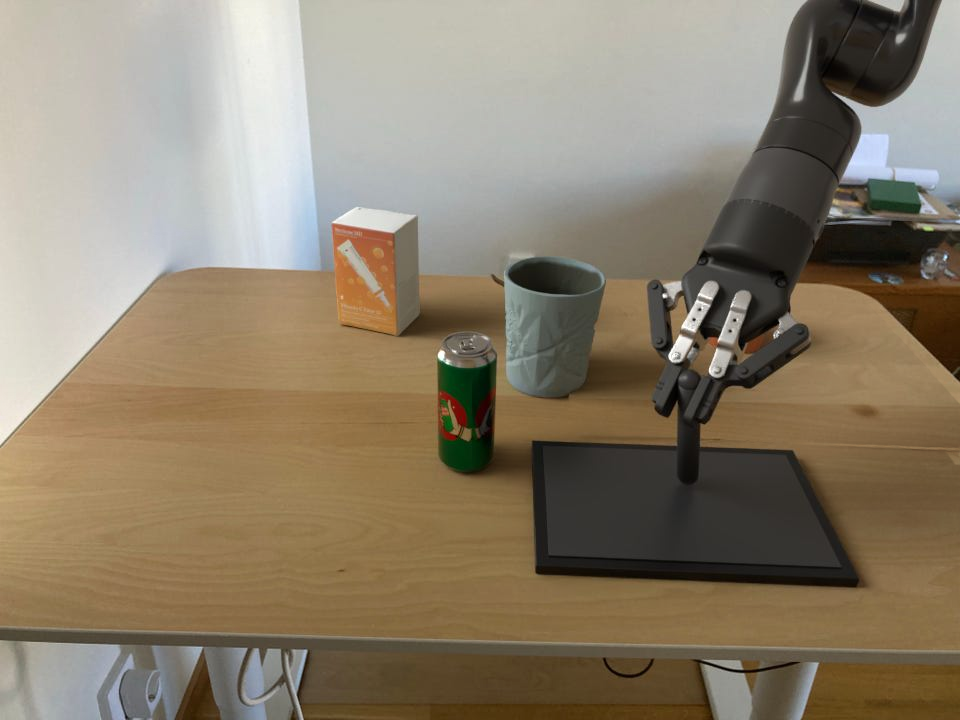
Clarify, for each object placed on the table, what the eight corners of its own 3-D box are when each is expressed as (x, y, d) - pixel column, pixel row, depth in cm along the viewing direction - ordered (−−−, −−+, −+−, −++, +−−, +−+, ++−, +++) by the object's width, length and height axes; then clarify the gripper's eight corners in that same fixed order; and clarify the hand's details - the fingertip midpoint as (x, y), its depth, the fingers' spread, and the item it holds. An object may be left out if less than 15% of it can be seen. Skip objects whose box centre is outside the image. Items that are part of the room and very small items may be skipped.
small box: (337, 325, 93) (329, 221, 87) (363, 304, 98) (356, 204, 92) (398, 337, 91) (394, 232, 84) (421, 315, 96) (419, 214, 89)
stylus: (702, 483, 66) (707, 375, 57) (684, 492, 66) (686, 384, 57) (690, 469, 67) (693, 361, 59) (672, 478, 67) (672, 370, 58)
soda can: (488, 439, 73) (491, 327, 67) (498, 472, 69) (502, 355, 63) (435, 444, 73) (433, 331, 67) (442, 478, 68) (441, 360, 62)
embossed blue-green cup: (484, 365, 85) (486, 264, 79) (561, 346, 89) (569, 249, 84) (531, 411, 78) (538, 303, 72) (613, 388, 82) (626, 284, 76)
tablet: (790, 457, 72) (793, 448, 71) (856, 587, 58) (860, 577, 57) (531, 447, 72) (531, 438, 72) (535, 574, 58) (535, 564, 58)
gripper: (678, 179, 61) (581, 372, 59) (859, 218, 54) (756, 441, 52) (697, 225, 68) (610, 402, 65) (861, 266, 60) (770, 467, 58)
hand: (675, 418), depth 58 cm, fingers closed on stylus, 2 cm apart
